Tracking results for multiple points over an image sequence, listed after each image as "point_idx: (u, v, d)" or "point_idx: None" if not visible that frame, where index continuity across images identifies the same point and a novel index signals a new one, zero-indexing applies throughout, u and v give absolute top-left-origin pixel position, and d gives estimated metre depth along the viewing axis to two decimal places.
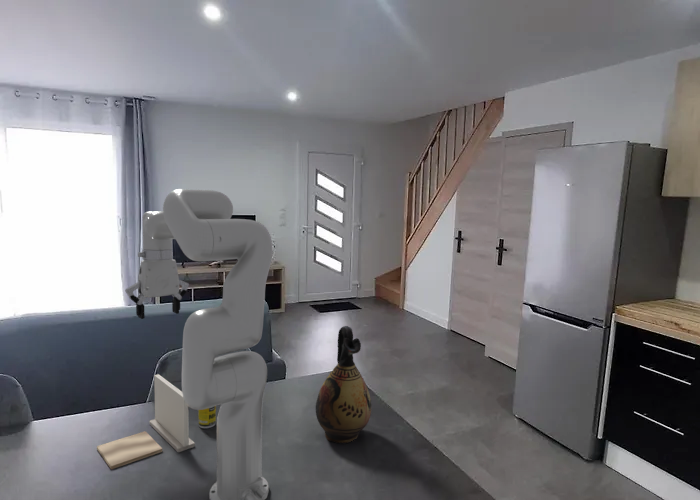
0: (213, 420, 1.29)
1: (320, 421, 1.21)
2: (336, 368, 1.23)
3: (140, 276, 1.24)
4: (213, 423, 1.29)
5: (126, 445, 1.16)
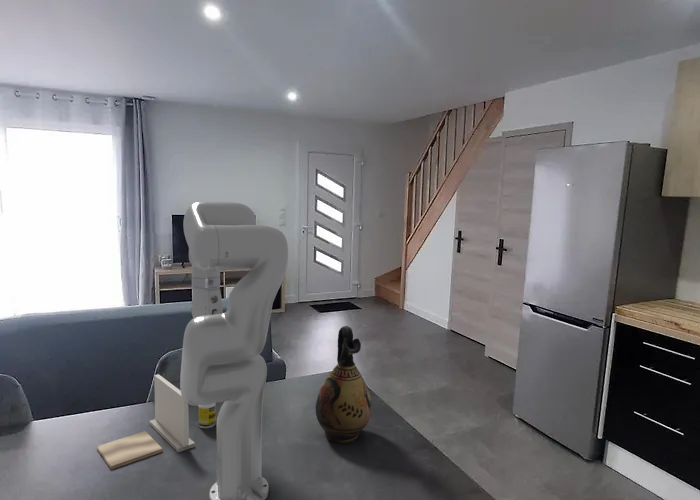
0: (213, 420, 1.29)
1: (320, 421, 1.21)
2: (336, 368, 1.23)
3: (216, 304, 1.23)
4: (213, 423, 1.29)
5: (126, 445, 1.16)
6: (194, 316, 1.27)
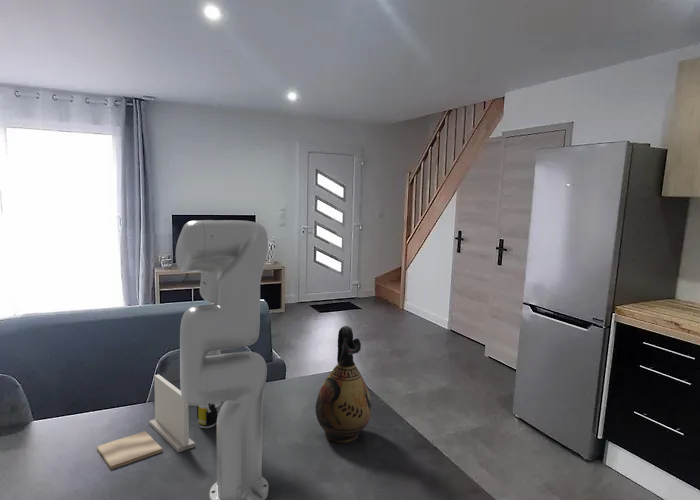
0: None
1: (320, 421, 1.21)
2: (336, 368, 1.23)
3: None
4: None
5: (126, 445, 1.16)
6: None
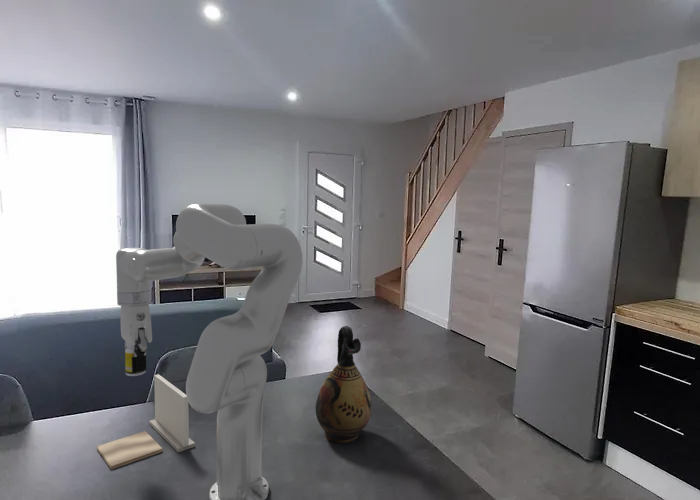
0: None
1: (320, 421, 1.21)
2: (336, 368, 1.23)
3: (143, 322, 1.10)
4: (142, 371, 1.14)
5: (126, 445, 1.16)
6: (122, 334, 1.15)
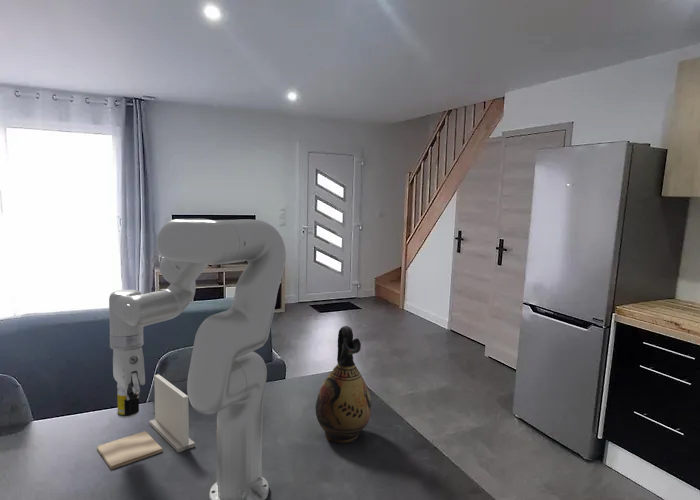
0: None
1: (320, 421, 1.21)
2: (336, 368, 1.23)
3: (136, 366, 1.10)
4: None
5: (126, 445, 1.16)
6: (114, 376, 1.14)
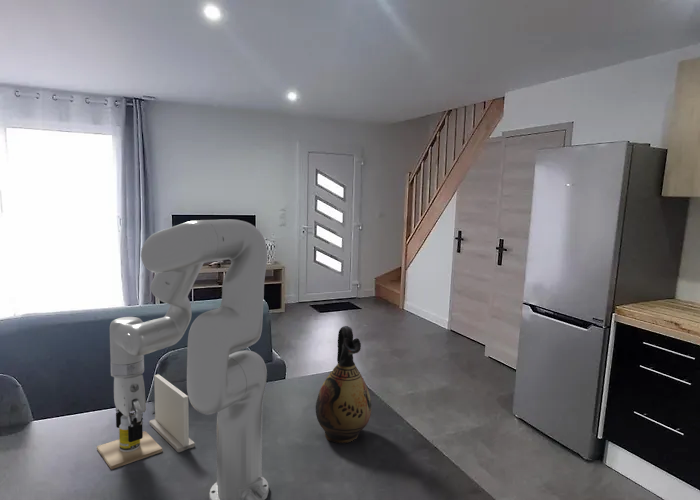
0: (136, 443, 1.14)
1: (320, 421, 1.21)
2: (336, 368, 1.23)
3: (136, 393, 1.11)
4: (136, 446, 1.14)
5: None
6: (115, 403, 1.15)
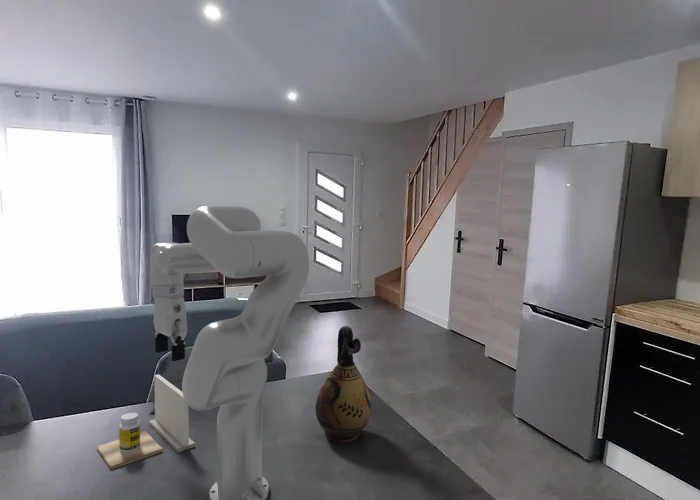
0: (136, 443, 1.14)
1: (320, 421, 1.21)
2: (336, 368, 1.23)
3: (179, 314, 1.14)
4: (136, 446, 1.14)
5: None
6: (156, 327, 1.18)
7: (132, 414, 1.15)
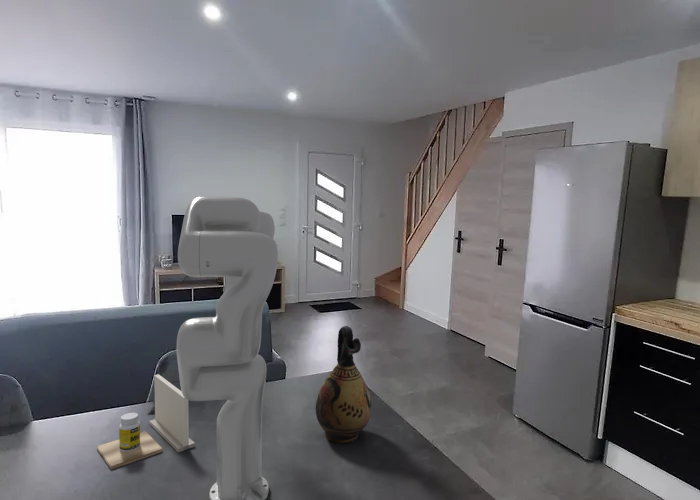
0: (136, 443, 1.14)
1: (320, 421, 1.21)
2: (336, 368, 1.23)
3: None
4: (136, 446, 1.14)
5: None
6: None
7: (132, 414, 1.15)
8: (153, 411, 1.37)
